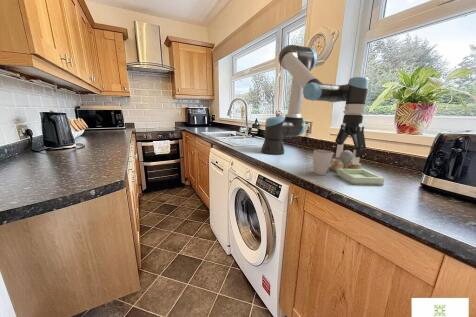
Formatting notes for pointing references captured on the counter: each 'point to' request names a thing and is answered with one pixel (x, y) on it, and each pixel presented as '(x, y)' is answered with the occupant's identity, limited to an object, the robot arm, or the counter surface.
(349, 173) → the dish
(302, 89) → the robot arm
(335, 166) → the holder
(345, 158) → the light bulb
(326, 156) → the cup
